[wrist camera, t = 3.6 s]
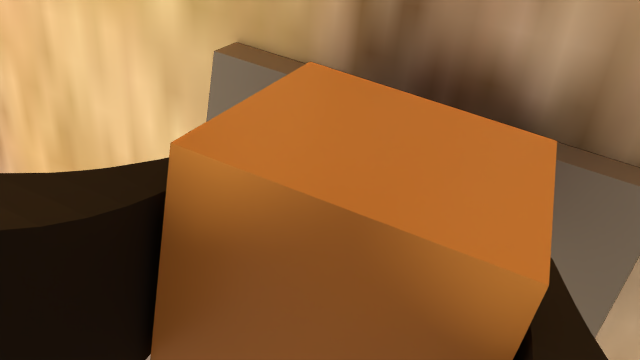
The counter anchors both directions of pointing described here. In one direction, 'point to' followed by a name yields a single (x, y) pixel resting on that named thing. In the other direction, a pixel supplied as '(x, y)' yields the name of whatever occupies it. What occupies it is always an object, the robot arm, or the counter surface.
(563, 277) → the grey flat block
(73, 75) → the counter surface
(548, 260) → the solid orange cube
